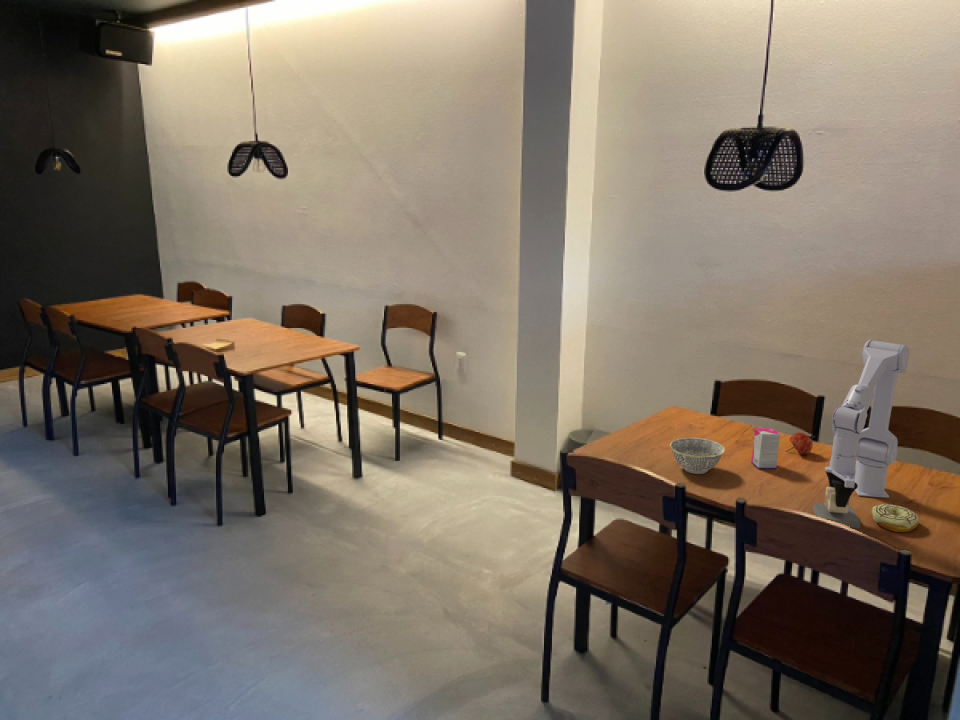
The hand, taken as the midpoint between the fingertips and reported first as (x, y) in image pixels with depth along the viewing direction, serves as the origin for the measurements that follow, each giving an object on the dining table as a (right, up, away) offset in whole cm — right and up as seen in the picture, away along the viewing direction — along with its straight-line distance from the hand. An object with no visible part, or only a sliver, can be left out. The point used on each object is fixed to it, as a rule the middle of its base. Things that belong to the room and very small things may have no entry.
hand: (838, 502), depth 184 cm
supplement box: (-5, +4, +36) cm, 36 cm away
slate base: (0, -5, +1) cm, 5 cm away
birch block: (0, -2, +1) cm, 2 cm away
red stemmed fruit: (+10, +6, +46) cm, 47 cm away
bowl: (-27, +3, +33) cm, 43 cm away
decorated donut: (+14, -6, -1) cm, 15 cm away
